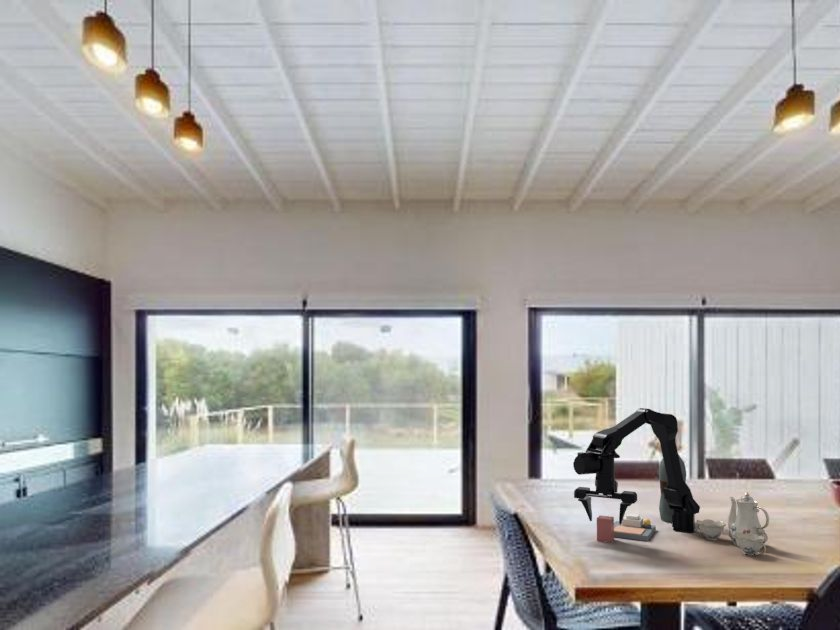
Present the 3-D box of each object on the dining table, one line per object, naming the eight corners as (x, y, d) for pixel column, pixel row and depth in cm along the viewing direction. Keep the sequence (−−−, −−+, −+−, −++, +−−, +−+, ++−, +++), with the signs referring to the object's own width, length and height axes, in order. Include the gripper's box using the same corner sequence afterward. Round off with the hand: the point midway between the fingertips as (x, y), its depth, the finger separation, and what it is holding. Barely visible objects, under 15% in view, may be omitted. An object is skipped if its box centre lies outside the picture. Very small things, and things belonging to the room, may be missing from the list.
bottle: (660, 522, 242) (659, 436, 244) (658, 516, 250) (656, 433, 252) (689, 524, 239) (687, 437, 241) (685, 518, 248) (684, 434, 250)
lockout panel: (655, 530, 231) (655, 516, 231) (647, 541, 216) (647, 526, 217) (616, 525, 237) (615, 512, 237) (605, 535, 222) (605, 522, 223)
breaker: (639, 523, 231) (639, 514, 231) (637, 526, 227) (637, 516, 228) (628, 522, 232) (628, 513, 232) (626, 524, 229) (626, 515, 229)
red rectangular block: (614, 539, 218) (613, 516, 219) (611, 542, 215) (610, 519, 215) (600, 537, 220) (599, 515, 221) (596, 540, 217) (596, 518, 217)
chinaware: (687, 541, 223) (682, 490, 223) (728, 532, 228) (723, 482, 229) (754, 566, 196) (748, 507, 197) (799, 555, 202) (793, 498, 202)
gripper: (639, 471, 222) (640, 520, 221) (582, 466, 230) (582, 514, 229) (633, 476, 212) (634, 528, 211) (573, 471, 220) (573, 521, 219)
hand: (605, 522), depth 218 cm, fingers open, 9 cm apart
